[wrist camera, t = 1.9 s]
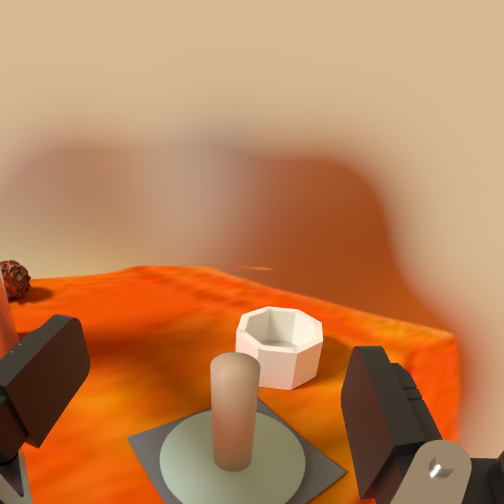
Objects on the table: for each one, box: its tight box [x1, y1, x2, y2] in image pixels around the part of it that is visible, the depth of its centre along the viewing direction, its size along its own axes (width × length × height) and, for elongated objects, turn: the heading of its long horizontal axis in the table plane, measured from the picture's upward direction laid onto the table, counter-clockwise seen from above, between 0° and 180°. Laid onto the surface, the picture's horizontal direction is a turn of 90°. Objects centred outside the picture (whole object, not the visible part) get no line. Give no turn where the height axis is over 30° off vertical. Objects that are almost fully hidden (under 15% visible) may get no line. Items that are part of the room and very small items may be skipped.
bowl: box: [236, 307, 323, 390], centre depth 42 cm, size 11×11×6 cm
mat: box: [127, 399, 346, 504], centre depth 26 cm, size 16×16×1 cm
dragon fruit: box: [0, 260, 31, 300], centre depth 52 cm, size 8×8×12 cm
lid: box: [160, 352, 305, 504], centre depth 24 cm, size 14×14×13 cm
